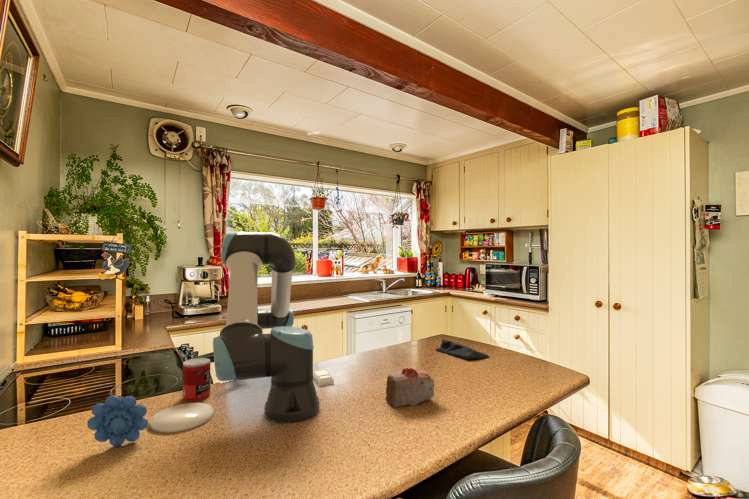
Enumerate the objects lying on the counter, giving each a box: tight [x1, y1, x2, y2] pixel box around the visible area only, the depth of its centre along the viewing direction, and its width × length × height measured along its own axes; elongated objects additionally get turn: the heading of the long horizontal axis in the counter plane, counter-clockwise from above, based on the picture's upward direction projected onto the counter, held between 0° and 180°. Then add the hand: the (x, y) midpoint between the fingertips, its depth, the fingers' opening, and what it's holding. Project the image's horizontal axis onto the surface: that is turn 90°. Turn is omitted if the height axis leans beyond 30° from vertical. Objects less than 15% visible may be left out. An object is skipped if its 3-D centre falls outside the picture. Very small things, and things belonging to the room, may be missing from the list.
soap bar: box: [313, 370, 335, 387], centre depth 126 cm, size 5×9×3 cm, turn 26°
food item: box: [385, 367, 435, 408], centre depth 108 cm, size 14×8×10 cm, turn 116°
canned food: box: [182, 358, 211, 402], centre depth 113 cm, size 8×8×11 cm
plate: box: [149, 402, 214, 434], centre depth 97 cm, size 15×15×1 cm
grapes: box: [86, 394, 149, 447], centre depth 83 cm, size 12×7×12 cm, turn 122°
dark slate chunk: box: [435, 339, 490, 360], centre depth 160 cm, size 15×22×5 cm
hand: (208, 368), depth 120 cm, fingers open, 13 cm apart
